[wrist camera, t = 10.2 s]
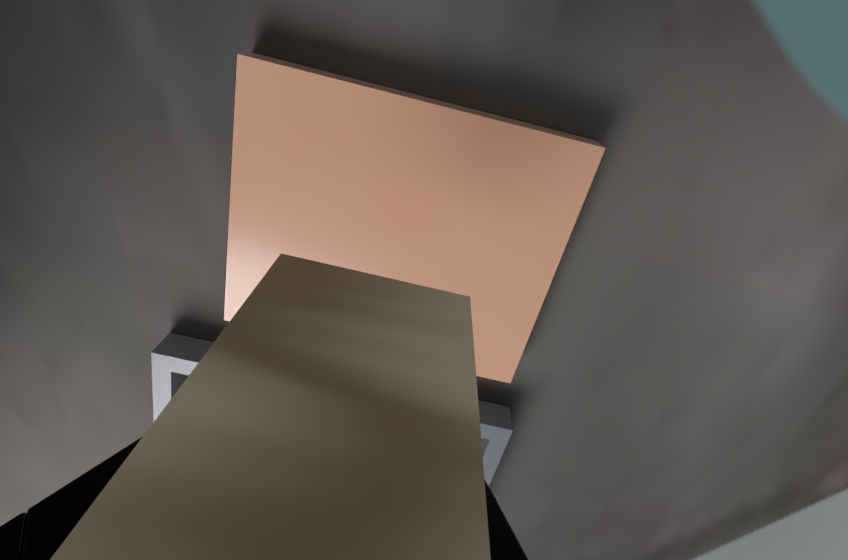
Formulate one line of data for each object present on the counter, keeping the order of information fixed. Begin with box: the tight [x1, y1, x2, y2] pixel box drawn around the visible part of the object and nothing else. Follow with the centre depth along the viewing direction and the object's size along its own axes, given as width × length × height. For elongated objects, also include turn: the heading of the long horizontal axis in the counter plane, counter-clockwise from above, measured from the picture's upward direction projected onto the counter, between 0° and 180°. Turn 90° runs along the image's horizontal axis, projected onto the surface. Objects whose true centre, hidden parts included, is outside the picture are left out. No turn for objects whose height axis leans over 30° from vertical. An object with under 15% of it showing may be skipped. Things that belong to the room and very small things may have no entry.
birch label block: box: [50, 253, 491, 560], centre depth 8 cm, size 4×5×8 cm
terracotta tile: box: [224, 52, 605, 383], centre depth 18 cm, size 12×10×1 cm
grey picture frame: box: [151, 333, 513, 486], centre depth 25 cm, size 16×16×2 cm
